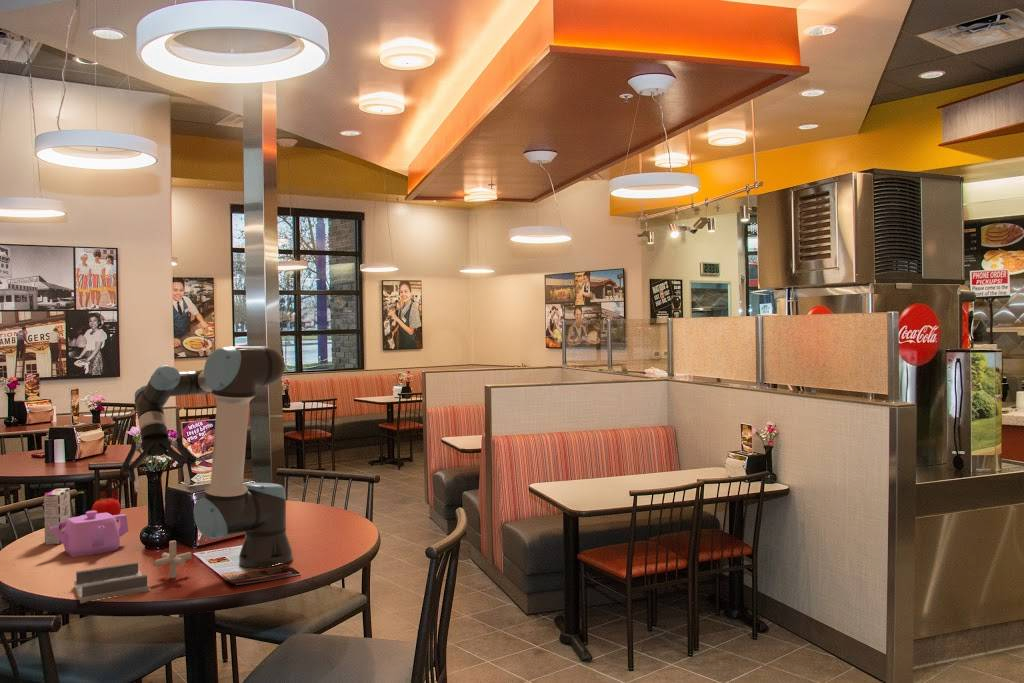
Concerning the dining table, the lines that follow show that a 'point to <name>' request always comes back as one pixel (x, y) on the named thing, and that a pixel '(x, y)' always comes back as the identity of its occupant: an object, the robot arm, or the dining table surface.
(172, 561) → the pipe connector
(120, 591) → the cradle plate
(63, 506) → the candy bar box
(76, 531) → the teakettle
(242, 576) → the dining table surface
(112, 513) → the tomato
